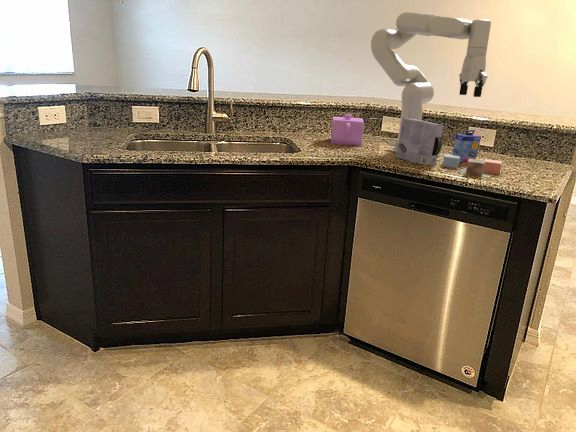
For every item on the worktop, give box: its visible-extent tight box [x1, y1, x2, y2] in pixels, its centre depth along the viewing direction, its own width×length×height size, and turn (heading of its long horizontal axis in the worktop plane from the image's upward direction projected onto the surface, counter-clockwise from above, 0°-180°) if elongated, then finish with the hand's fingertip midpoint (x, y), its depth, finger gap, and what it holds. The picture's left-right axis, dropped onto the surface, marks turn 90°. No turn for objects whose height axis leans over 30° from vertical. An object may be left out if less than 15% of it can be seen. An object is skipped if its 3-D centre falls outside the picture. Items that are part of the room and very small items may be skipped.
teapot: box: [330, 113, 365, 147], centre depth 236 cm, size 15×25×14 cm, turn 174°
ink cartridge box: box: [451, 129, 482, 164], centre depth 204 cm, size 10×6×14 cm, turn 111°
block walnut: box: [465, 158, 486, 177], centre depth 183 cm, size 6×6×5 cm
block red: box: [483, 158, 503, 175], centre depth 189 cm, size 6×6×5 cm
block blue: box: [441, 153, 461, 169], centre depth 195 cm, size 6×6×5 cm
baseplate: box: [460, 169, 489, 178], centre depth 185 cm, size 10×7×1 cm
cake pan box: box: [395, 118, 445, 166], centre depth 199 cm, size 19×5×18 cm, turn 39°
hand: (469, 95), depth 196 cm, fingers open, 9 cm apart
